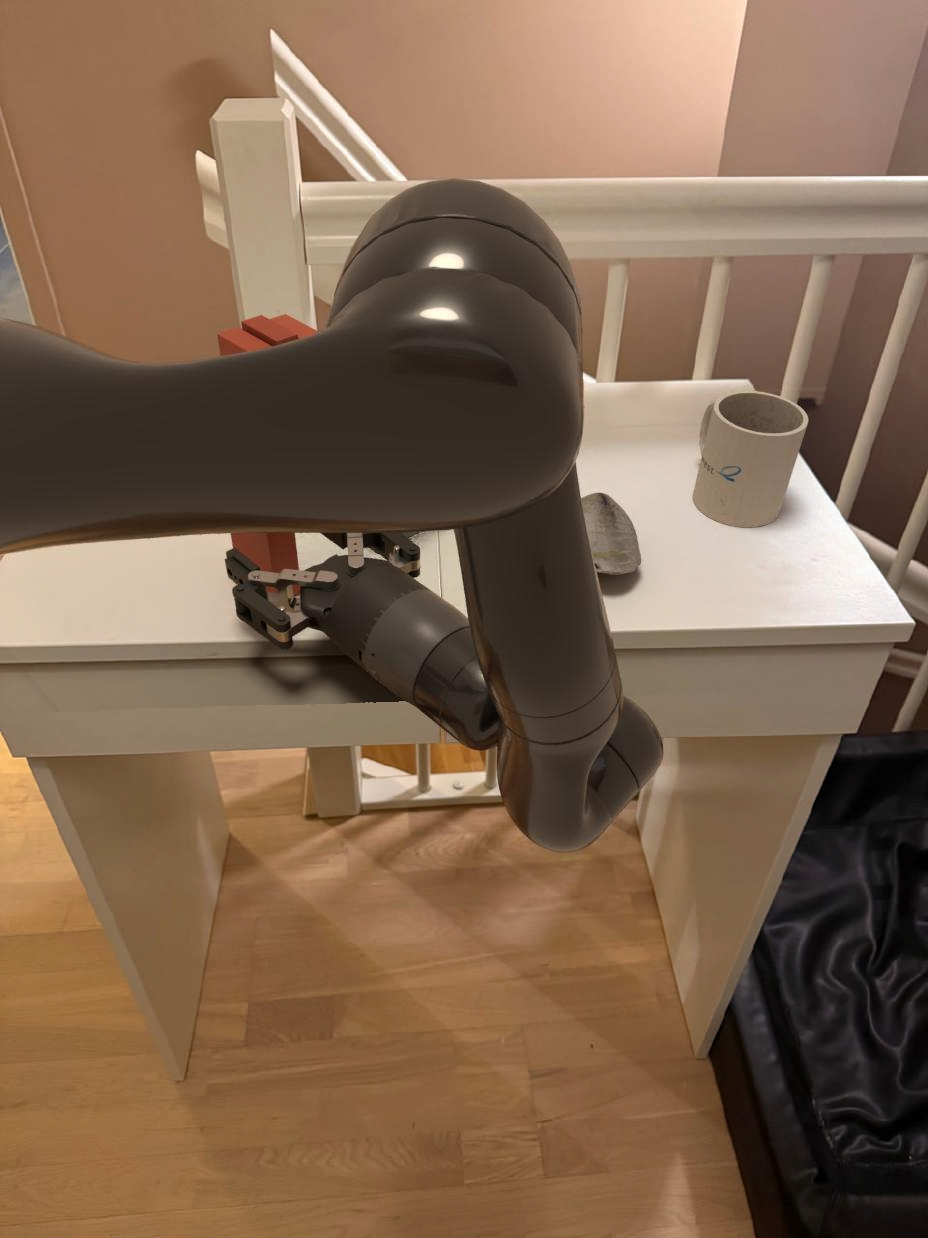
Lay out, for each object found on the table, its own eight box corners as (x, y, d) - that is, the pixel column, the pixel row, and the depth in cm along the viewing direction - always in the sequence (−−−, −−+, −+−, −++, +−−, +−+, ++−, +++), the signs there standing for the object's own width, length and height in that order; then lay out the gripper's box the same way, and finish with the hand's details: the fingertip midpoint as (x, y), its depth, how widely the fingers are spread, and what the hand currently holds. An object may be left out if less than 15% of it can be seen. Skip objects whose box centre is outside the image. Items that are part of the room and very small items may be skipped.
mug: (793, 525, 87) (823, 434, 81) (708, 529, 86) (731, 437, 80) (749, 459, 97) (773, 372, 90) (671, 461, 96) (690, 374, 89)
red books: (263, 442, 96) (251, 349, 89) (230, 420, 99) (216, 328, 92) (328, 416, 100) (321, 326, 94) (293, 396, 104) (284, 307, 97)
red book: (276, 605, 76) (263, 507, 69) (236, 572, 79) (220, 475, 73) (301, 592, 77) (290, 494, 71) (261, 560, 81) (247, 464, 74)
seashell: (541, 515, 87) (546, 471, 84) (626, 518, 87) (634, 474, 84) (548, 594, 78) (554, 548, 75) (643, 597, 78) (653, 551, 75)
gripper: (479, 555, 66) (341, 466, 75) (324, 644, 58) (190, 534, 67) (475, 631, 71) (346, 540, 80) (331, 722, 63) (206, 610, 72)
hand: (275, 537), depth 73 cm, fingers open, 8 cm apart
